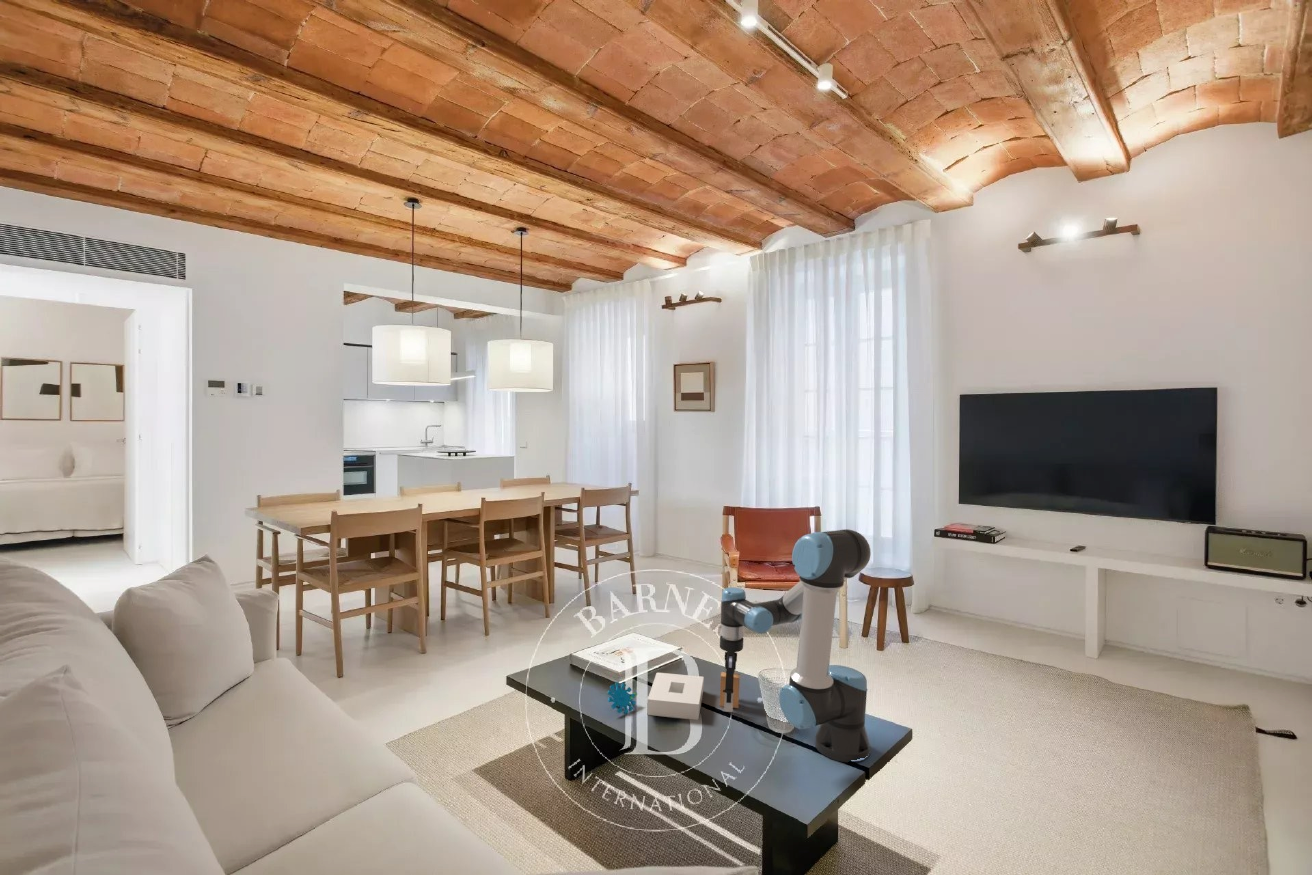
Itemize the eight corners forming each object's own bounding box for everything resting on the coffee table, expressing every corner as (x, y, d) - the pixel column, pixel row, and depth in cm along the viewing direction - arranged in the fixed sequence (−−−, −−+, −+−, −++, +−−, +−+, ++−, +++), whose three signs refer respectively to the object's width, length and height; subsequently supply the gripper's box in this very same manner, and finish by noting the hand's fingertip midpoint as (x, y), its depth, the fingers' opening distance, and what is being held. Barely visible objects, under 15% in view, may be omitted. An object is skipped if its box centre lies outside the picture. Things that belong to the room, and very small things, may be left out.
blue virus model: (614, 714, 204) (605, 682, 209) (605, 722, 207) (596, 690, 213) (643, 709, 211) (633, 679, 216) (633, 717, 214) (624, 687, 219)
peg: (738, 707, 214) (739, 677, 213) (719, 706, 215) (720, 676, 214) (738, 703, 217) (739, 673, 216) (719, 701, 218) (721, 672, 217)
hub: (698, 719, 205) (698, 704, 205) (647, 714, 207) (647, 699, 207) (703, 691, 225) (703, 676, 225) (656, 686, 227) (656, 672, 227)
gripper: (721, 623, 225) (718, 688, 227) (718, 648, 204) (715, 719, 206) (743, 625, 224) (740, 690, 226) (743, 650, 203) (739, 721, 205)
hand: (728, 703), depth 216 cm, fingers open, 9 cm apart
